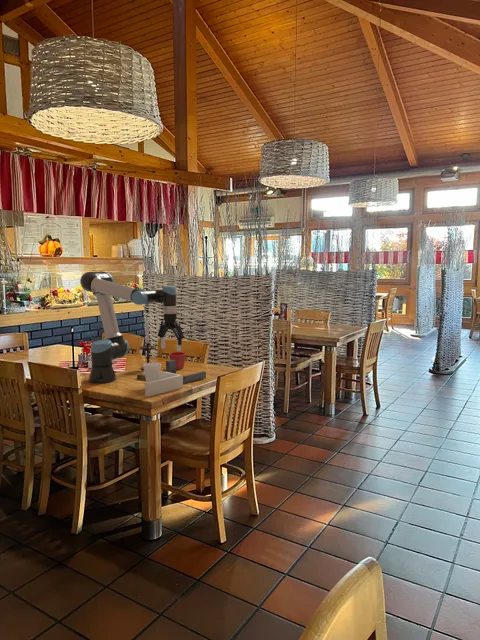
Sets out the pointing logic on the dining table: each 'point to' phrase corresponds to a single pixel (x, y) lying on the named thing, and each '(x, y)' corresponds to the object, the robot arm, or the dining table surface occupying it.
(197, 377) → the crook tool
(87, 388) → the dining table surface
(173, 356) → the flower pot
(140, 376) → the walnut stick
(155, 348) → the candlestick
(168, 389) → the cubby
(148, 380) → the cup
